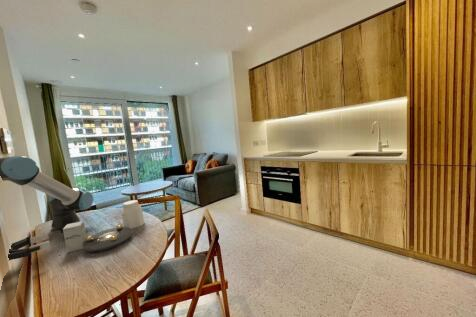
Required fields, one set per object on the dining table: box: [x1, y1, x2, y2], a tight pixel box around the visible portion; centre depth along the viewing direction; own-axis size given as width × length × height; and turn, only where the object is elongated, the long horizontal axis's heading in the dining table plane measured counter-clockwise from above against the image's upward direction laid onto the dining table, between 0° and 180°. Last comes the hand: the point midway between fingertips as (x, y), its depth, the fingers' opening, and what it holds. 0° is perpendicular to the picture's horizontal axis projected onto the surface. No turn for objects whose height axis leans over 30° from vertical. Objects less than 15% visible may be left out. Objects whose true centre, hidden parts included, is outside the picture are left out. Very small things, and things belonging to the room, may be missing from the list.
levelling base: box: [82, 223, 133, 253], centre depth 111 cm, size 22×22×6 cm
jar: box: [121, 199, 145, 230], centre depth 131 cm, size 12×10×15 cm
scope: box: [59, 213, 78, 234], centre depth 123 cm, size 8×14×10 cm
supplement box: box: [62, 220, 87, 254], centre depth 109 cm, size 7×7×13 cm
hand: (49, 239), depth 102 cm, fingers open, 13 cm apart
